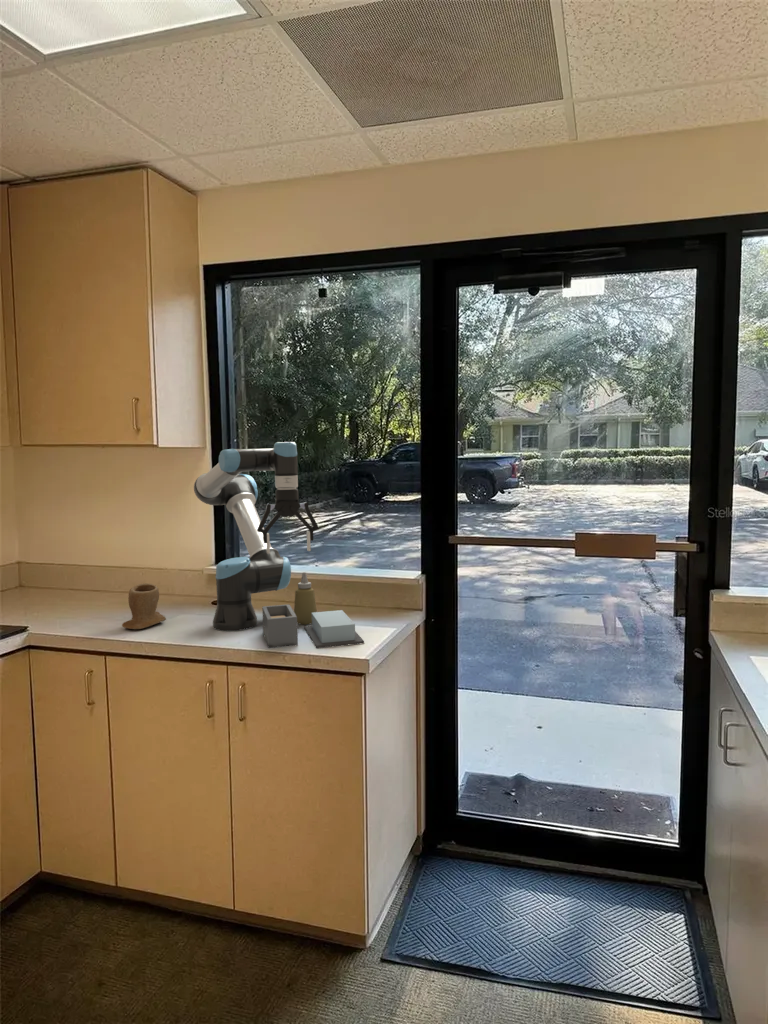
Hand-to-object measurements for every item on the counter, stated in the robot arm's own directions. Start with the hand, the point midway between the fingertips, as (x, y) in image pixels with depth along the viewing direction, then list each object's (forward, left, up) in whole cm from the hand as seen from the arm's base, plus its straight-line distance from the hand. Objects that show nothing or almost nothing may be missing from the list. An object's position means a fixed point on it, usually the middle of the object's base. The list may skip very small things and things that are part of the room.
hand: (288, 551), depth 218 cm
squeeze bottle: (-7, +6, -27) cm, 28 cm away
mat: (+12, +12, -27) cm, 32 cm away
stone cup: (-22, -48, -27) cm, 59 cm away
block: (+12, +12, -26) cm, 31 cm away
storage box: (+10, -5, -27) cm, 29 cm away
